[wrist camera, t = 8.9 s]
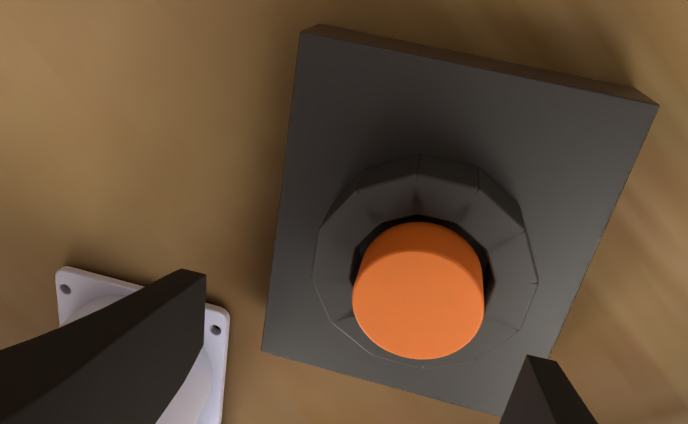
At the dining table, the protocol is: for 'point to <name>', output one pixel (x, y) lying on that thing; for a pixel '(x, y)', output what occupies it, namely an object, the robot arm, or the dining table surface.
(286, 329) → the control block
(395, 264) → the button
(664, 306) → the dining table surface
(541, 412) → the robot arm
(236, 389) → the dining table surface
